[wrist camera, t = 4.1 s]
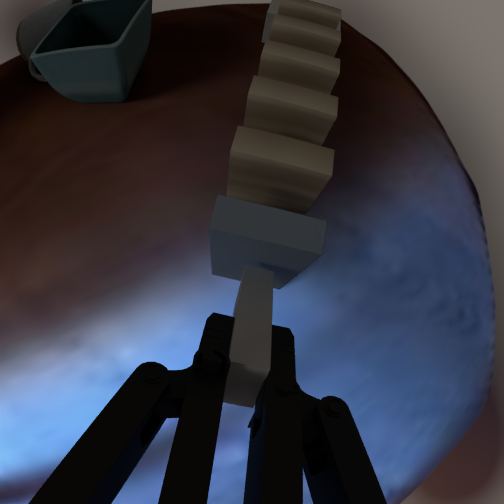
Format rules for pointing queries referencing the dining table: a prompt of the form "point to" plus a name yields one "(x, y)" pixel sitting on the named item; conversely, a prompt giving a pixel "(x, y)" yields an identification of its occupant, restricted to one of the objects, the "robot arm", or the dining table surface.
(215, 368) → the robot arm
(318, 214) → the dining table surface
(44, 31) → the ceramic mug
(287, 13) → the domino
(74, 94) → the flower pot
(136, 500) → the dining table surface
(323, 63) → the domino
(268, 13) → the end block
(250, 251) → the domino
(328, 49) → the domino
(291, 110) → the domino
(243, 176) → the domino
